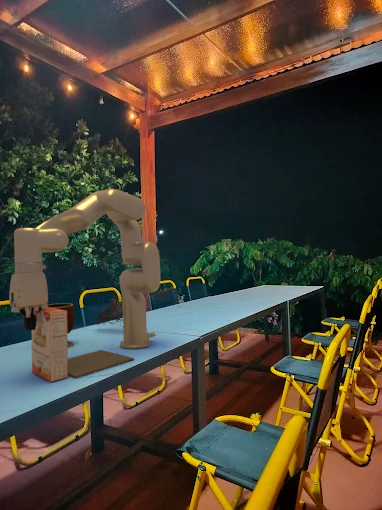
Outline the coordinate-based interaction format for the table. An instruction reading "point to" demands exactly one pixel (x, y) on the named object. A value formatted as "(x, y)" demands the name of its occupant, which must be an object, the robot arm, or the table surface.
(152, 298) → the dried plant
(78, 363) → the mat
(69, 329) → the mate gourd
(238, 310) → the table surface
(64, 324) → the cracker box
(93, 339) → the table surface
